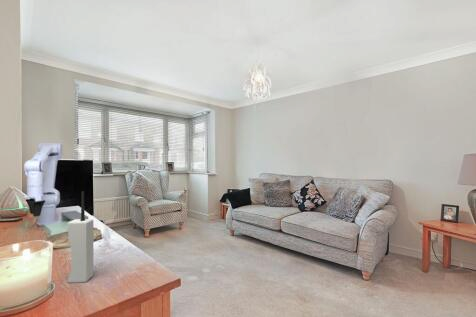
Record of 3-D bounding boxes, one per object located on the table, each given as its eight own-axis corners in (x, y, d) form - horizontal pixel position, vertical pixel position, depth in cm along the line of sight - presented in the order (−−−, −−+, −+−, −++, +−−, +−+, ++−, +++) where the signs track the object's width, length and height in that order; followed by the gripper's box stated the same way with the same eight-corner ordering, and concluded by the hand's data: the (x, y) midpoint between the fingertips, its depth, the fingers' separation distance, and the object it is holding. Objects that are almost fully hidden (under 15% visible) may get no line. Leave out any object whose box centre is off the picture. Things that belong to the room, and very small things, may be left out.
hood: (61, 224, 121) (61, 212, 121) (75, 222, 125) (75, 210, 125) (73, 233, 107) (73, 219, 107) (88, 230, 112) (88, 216, 112)
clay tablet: (44, 254, 84) (105, 239, 98) (44, 241, 84) (105, 228, 98) (39, 245, 94) (95, 233, 108) (39, 233, 94) (95, 222, 108)
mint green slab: (44, 230, 112) (44, 224, 112) (73, 225, 122) (73, 219, 122) (51, 237, 103) (51, 230, 103) (82, 230, 112) (82, 224, 112)
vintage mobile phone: (75, 276, 68) (75, 190, 68) (93, 275, 68) (93, 190, 68) (67, 283, 64) (67, 192, 64) (86, 282, 64) (86, 192, 64)
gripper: (21, 185, 110) (21, 214, 110) (26, 187, 100) (26, 219, 100) (40, 184, 115) (40, 211, 115) (47, 186, 106) (47, 216, 106)
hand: (35, 214), depth 108 cm, fingers open, 7 cm apart
